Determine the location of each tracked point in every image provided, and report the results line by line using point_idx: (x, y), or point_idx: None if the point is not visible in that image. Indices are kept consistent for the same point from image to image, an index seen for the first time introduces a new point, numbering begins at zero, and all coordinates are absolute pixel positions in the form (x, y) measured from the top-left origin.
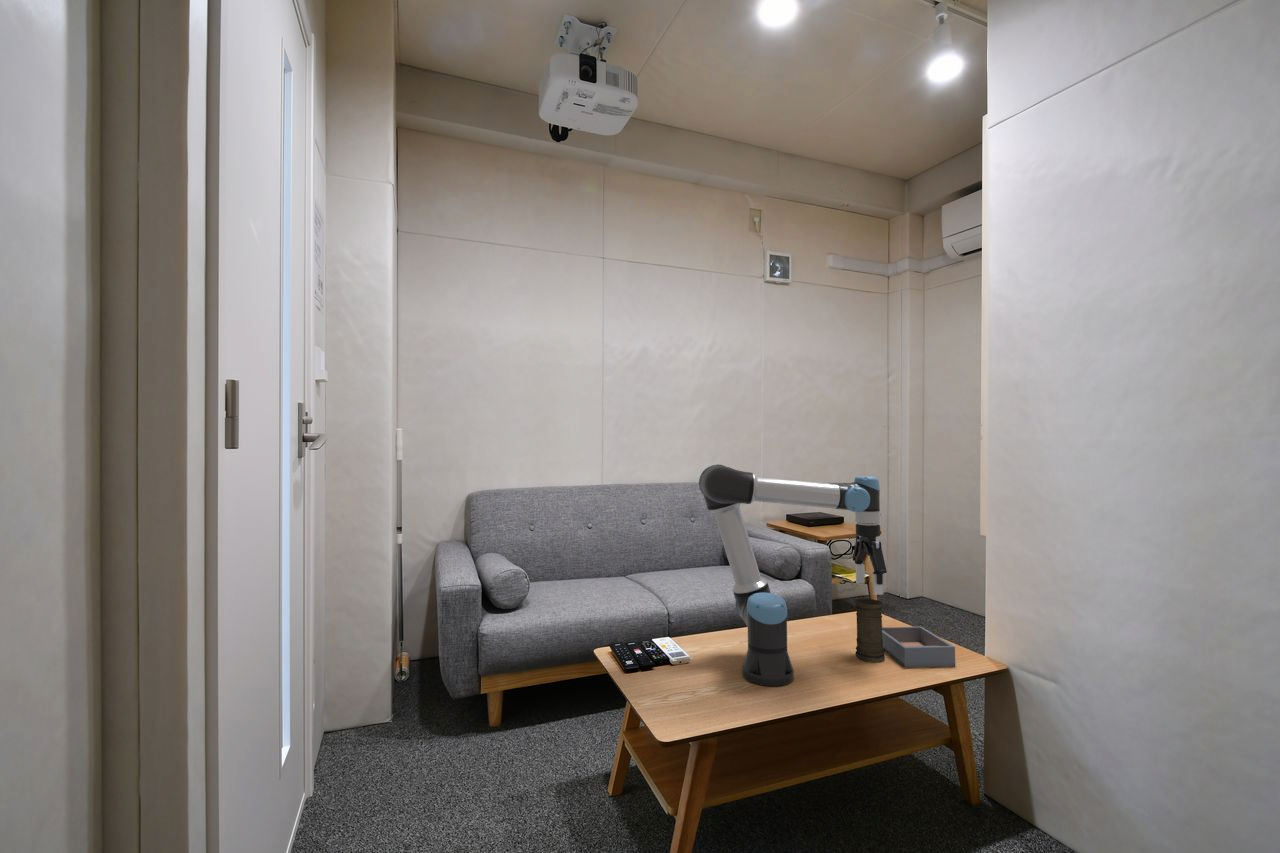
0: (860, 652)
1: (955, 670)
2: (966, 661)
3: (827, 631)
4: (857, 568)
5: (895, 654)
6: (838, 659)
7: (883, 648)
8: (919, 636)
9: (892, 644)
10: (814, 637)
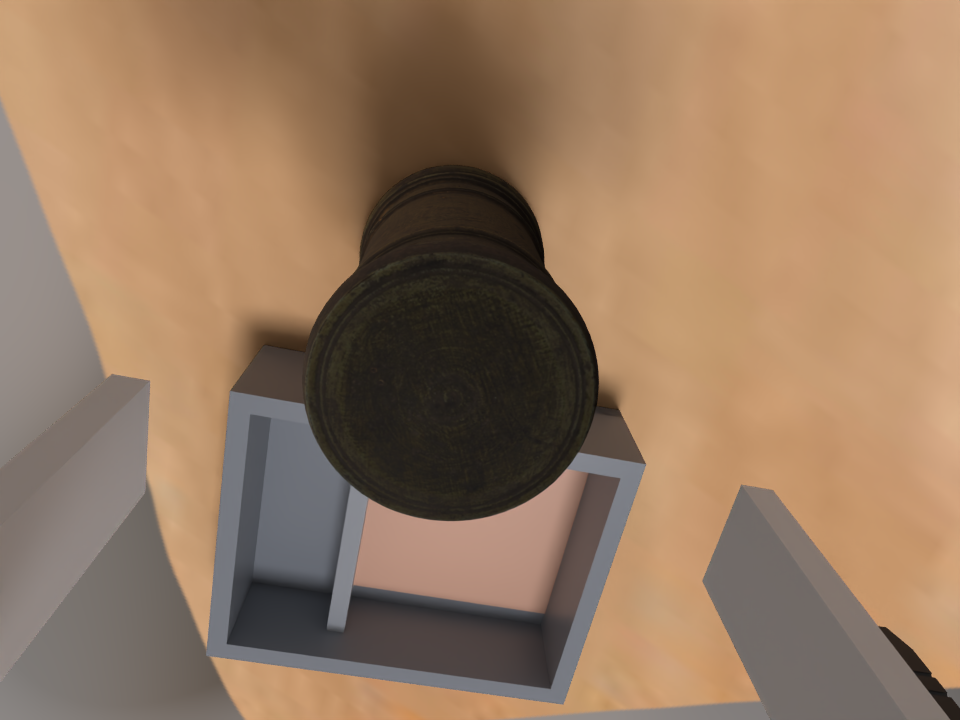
0: (432, 174)
1: (191, 550)
2: None
3: (950, 267)
4: (862, 680)
5: None
6: (475, 17)
7: None
8: (545, 644)
9: None
10: (900, 105)
